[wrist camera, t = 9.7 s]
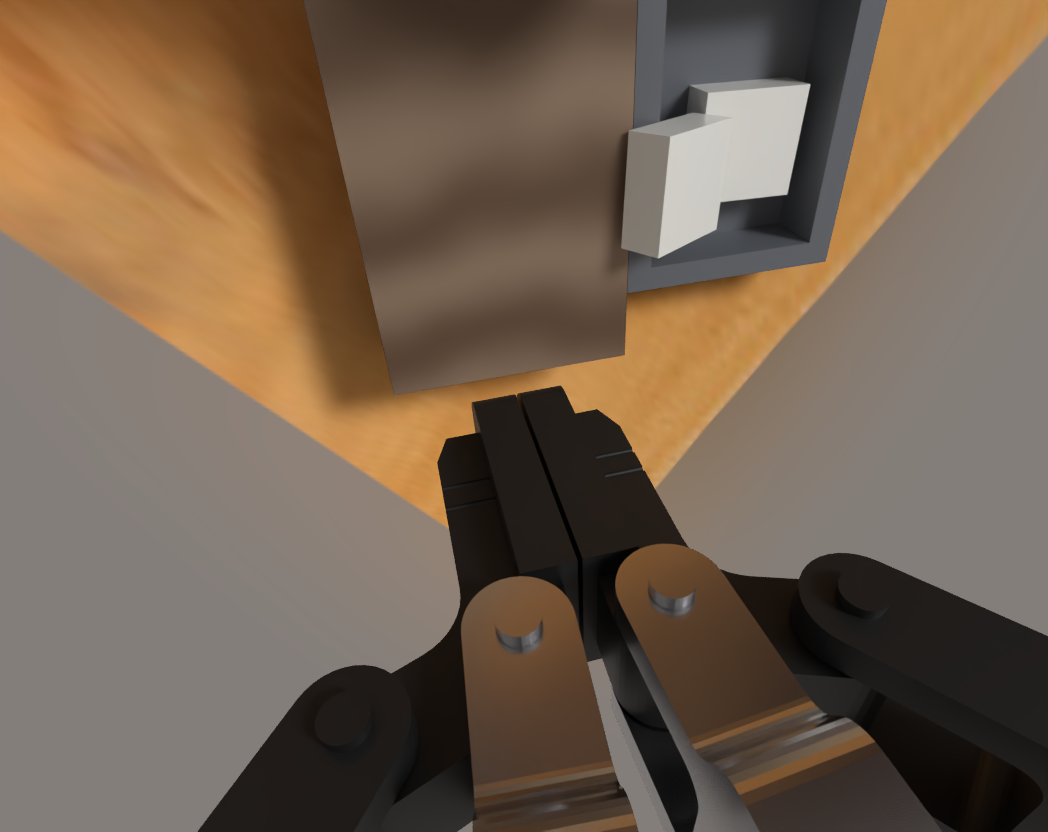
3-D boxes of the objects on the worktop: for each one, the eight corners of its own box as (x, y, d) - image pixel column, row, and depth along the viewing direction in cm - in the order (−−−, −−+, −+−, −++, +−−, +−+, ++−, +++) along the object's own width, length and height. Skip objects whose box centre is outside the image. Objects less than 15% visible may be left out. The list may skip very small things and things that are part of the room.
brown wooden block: (299, -54, 24) (290, -54, 21) (600, -78, 26) (640, -82, 22) (389, 350, 35) (394, 395, 32) (598, 315, 37) (624, 355, 33)
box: (610, -49, 27) (639, -48, 24) (849, -70, 28) (903, -71, 25) (605, 266, 35) (627, 293, 32) (789, 237, 36) (825, 261, 34)
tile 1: (628, 130, 26) (670, 136, 25) (693, 112, 29) (733, 117, 28) (621, 248, 29) (658, 258, 28) (680, 221, 32) (716, 229, 31)
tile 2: (810, 84, 29) (786, 77, 31) (708, 92, 28) (689, 85, 30) (787, 194, 32) (766, 182, 34) (694, 205, 31) (677, 192, 33)
